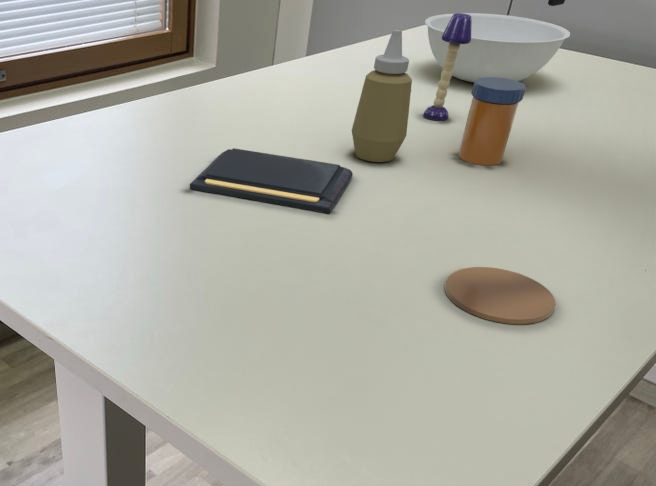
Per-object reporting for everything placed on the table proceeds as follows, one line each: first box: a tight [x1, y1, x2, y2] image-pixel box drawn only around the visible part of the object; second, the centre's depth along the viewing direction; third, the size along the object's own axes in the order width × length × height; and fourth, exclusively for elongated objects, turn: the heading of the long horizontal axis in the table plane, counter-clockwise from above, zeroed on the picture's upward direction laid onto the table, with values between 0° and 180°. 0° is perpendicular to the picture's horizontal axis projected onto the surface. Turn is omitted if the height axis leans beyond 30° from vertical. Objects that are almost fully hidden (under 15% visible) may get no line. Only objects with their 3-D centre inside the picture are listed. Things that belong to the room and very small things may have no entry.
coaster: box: [444, 266, 556, 325], centre depth 77 cm, size 11×11×1 cm
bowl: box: [424, 12, 571, 84], centre depth 146 cm, size 27×27×10 cm
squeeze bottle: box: [351, 29, 413, 163], centre depth 105 cm, size 8×8×18 cm
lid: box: [470, 77, 526, 104], centre depth 105 cm, size 7×7×2 cm
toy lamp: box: [423, 12, 472, 121], centre depth 122 cm, size 5×5×17 cm
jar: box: [457, 96, 520, 166], centre depth 108 cm, size 6×6×11 cm
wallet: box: [189, 147, 354, 214], centre depth 101 cm, size 20×2×15 cm
